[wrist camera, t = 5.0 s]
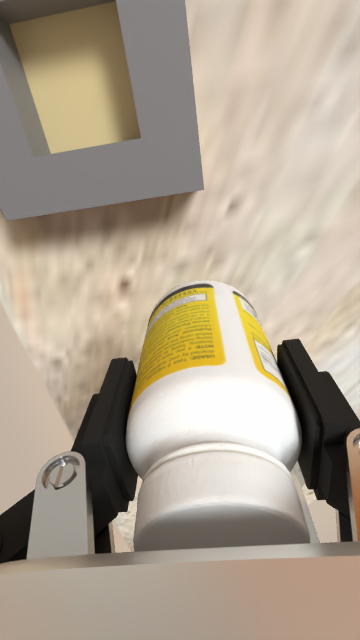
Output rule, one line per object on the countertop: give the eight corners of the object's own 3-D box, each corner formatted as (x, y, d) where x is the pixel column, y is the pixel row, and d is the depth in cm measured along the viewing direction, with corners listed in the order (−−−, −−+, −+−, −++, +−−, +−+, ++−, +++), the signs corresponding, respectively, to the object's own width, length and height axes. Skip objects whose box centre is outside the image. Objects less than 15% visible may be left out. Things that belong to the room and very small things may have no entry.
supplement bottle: (136, 354, 16) (78, 582, 8) (167, 261, 14) (133, 446, 5) (231, 381, 17) (274, 616, 8) (276, 298, 14) (405, 513, 6)
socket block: (201, 182, 24) (203, 189, 20) (30, 209, 25) (5, 220, 21) (172, -96, 17) (169, -157, 13) (-65, -39, 18) (-124, -81, 14)
